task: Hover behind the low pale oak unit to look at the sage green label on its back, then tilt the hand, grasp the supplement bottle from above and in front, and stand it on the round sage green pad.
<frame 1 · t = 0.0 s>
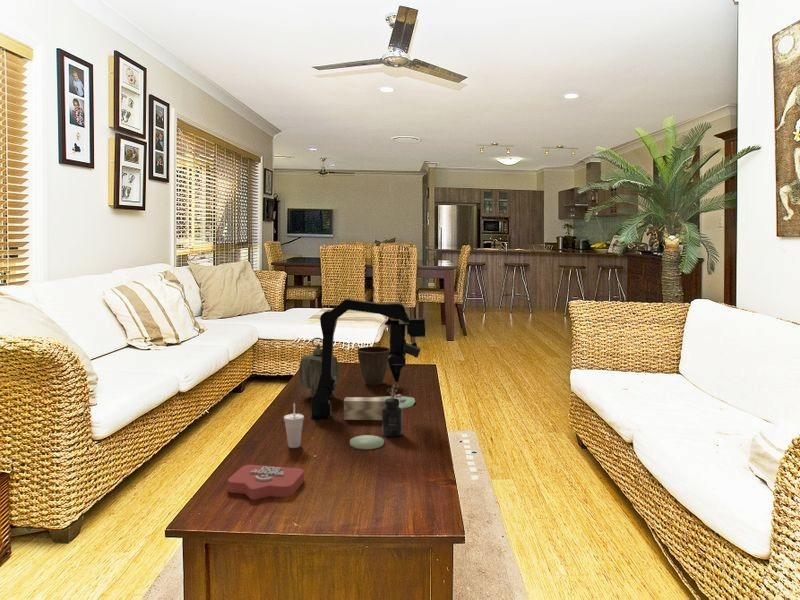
hand: (397, 378, 213), 15 cm above the table, tool pointing down, fingers open, 9 cm apart
plant pot: (373, 384, 264), on the table
plaque: (264, 489, 153), on the table
green pad: (366, 443, 187), on the table
supplement bottle: (392, 434, 196), on the table
smoothie: (294, 446, 184), on the table
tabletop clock: (318, 397, 242), on the table
oak unit: (366, 417, 213), on the table
decorated green tray: (384, 404, 234), on the table
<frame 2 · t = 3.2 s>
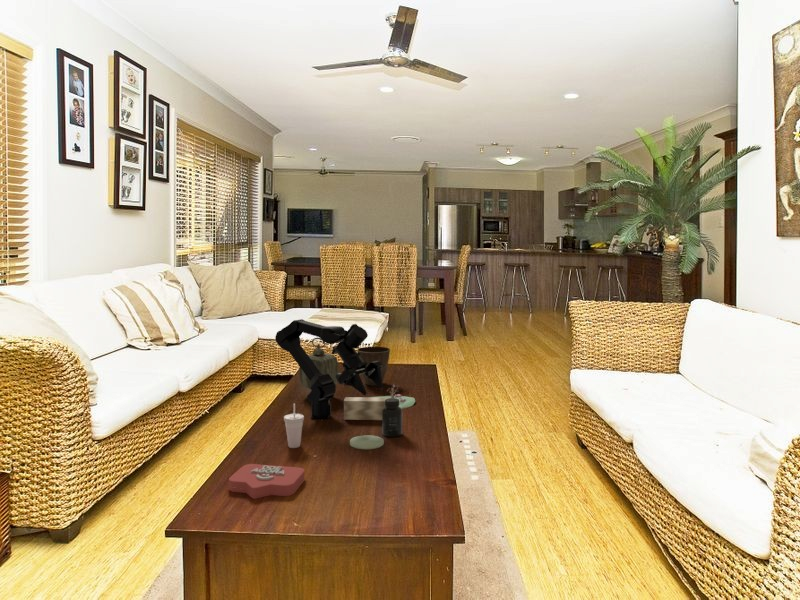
hand: (374, 391, 199), 14 cm above the table, tool tilted 45°, fingers open, 9 cm apart
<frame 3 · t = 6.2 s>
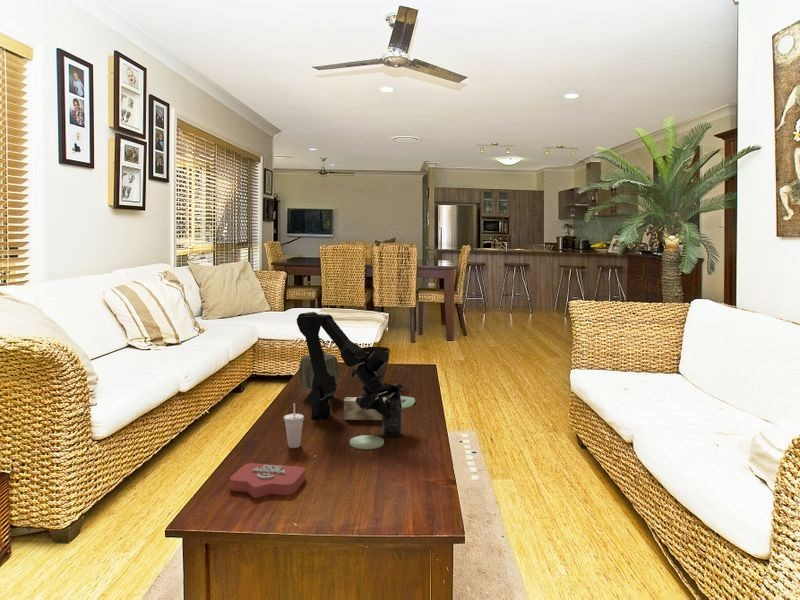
hand: (395, 416, 194), 7 cm above the table, tool tilted 45°, fingers closed on supplement bottle, 7 cm apart
supplement bottle: (392, 434, 196), on the table, touching gripper
when the fingers open (13 cm above the table, at t = 8.7 s): supplement bottle drops 4 cm, resting on green pad.
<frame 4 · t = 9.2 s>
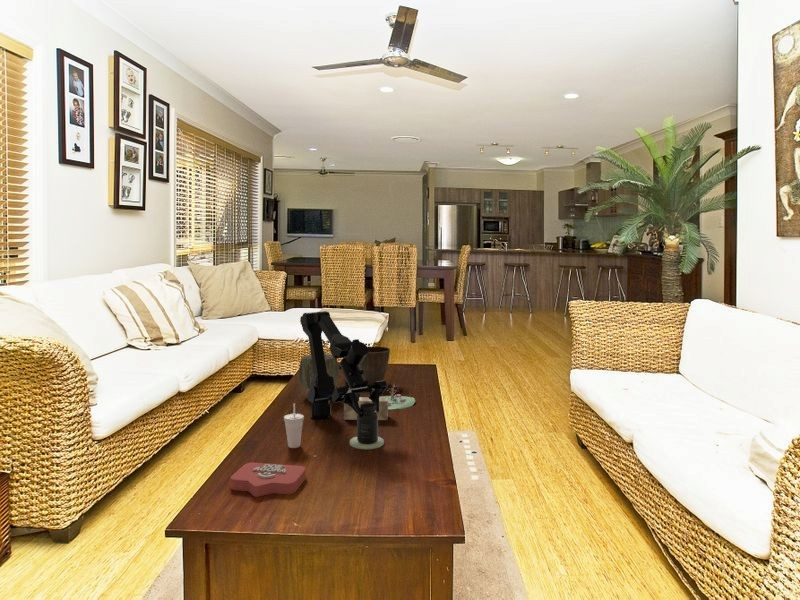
hand: (369, 413, 184), 10 cm above the table, tool tilted 45°, fingers open, 6 cm apart
supplement bottle: (367, 441, 186), point 1 cm above the table, touching green pad, gripper
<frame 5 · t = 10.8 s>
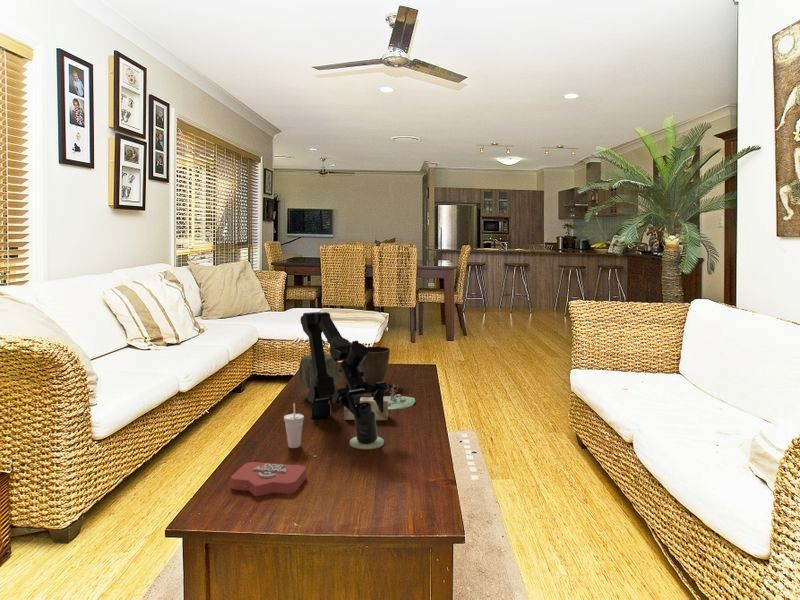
hand: (370, 414, 184), 10 cm above the table, tool tilted 50°, fingers open, 9 cm apart
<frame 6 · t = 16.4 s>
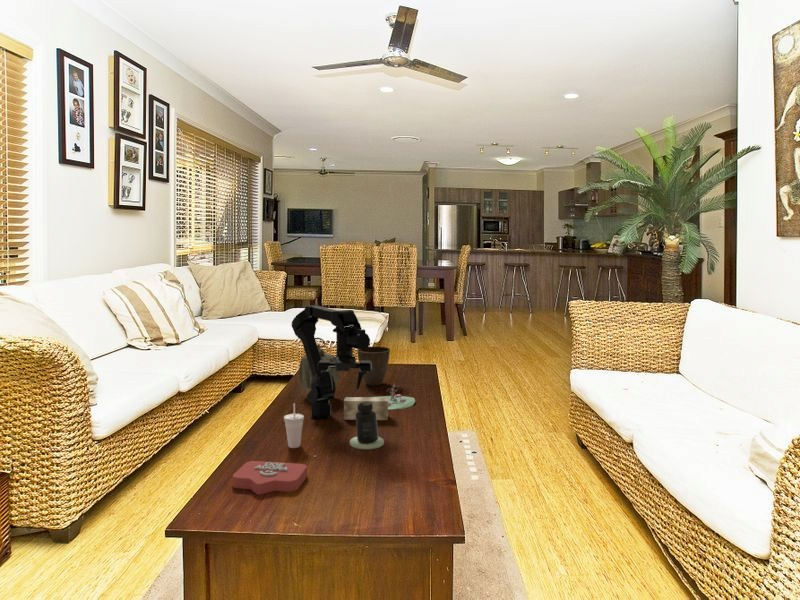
hand: (344, 389, 203), 13 cm above the table, tool pointing down, fingers open, 9 cm apart
plaque: (268, 485, 156), on the table
supplement bottle: (367, 440, 186), point 1 cm above the table, touching green pad
everything else where it was.
at the end: supplement bottle 0.4 cm off-centre on the green pad, point 0.9 cm above the green pad's base; supplement bottle tilted 4°; the gripper is holding nothing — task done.
